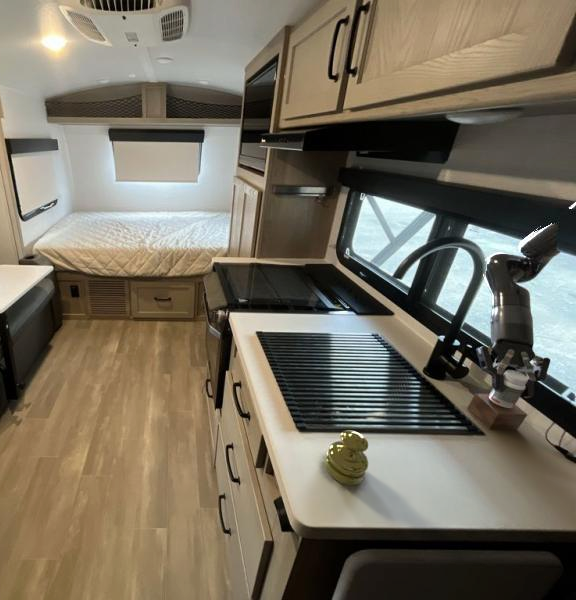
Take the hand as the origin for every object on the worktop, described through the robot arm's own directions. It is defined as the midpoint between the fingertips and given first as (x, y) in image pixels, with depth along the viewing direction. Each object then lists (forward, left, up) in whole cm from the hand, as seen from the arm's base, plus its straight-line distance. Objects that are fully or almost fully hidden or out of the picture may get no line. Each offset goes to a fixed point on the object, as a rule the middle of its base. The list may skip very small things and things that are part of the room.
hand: (512, 394), depth 79 cm
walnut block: (+1, -2, -10) cm, 10 cm away
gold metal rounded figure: (+26, +39, -10) cm, 48 cm away
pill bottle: (+1, -2, -4) cm, 5 cm away
